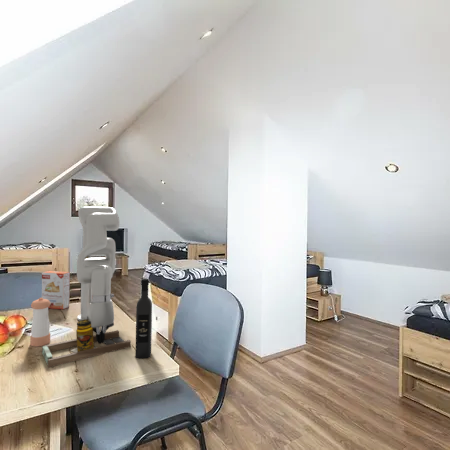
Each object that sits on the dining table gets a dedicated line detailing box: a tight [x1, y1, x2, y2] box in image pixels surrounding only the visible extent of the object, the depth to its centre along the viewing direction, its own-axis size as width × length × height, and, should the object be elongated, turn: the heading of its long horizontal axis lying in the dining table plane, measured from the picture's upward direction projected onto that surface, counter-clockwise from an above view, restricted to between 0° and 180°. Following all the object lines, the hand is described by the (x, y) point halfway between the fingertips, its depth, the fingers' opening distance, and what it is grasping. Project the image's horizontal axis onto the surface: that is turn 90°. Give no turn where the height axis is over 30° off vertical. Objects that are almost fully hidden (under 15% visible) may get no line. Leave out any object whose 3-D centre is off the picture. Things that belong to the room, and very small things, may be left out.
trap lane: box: [41, 329, 132, 368], centre depth 125 cm, size 15×30×3 cm, turn 129°
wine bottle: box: [134, 278, 153, 359], centre depth 121 cm, size 6×6×30 cm
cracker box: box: [41, 270, 71, 310], centre depth 180 cm, size 14×6×21 cm, turn 81°
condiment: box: [70, 319, 97, 353], centre depth 124 cm, size 7×8×12 cm
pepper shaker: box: [29, 297, 51, 347], centre depth 130 cm, size 7×7×19 cm
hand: (100, 342), depth 128 cm, fingers closed
